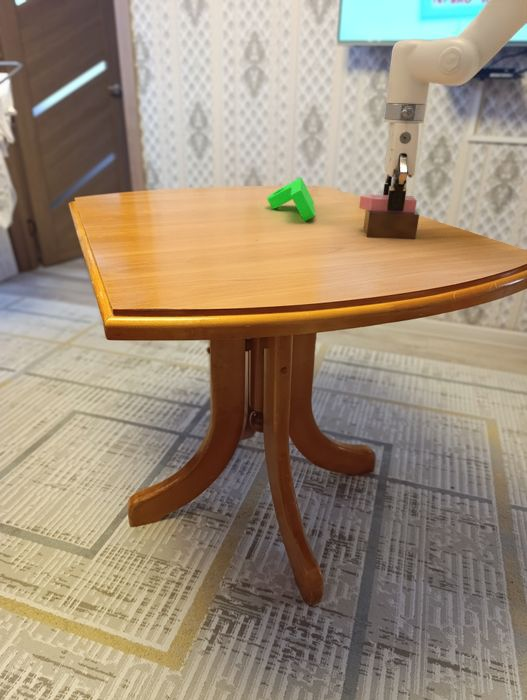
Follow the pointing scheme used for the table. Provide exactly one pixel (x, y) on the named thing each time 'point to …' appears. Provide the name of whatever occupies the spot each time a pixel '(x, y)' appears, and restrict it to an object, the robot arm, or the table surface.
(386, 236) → the block
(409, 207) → the boat
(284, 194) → the bracket
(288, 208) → the table surface
